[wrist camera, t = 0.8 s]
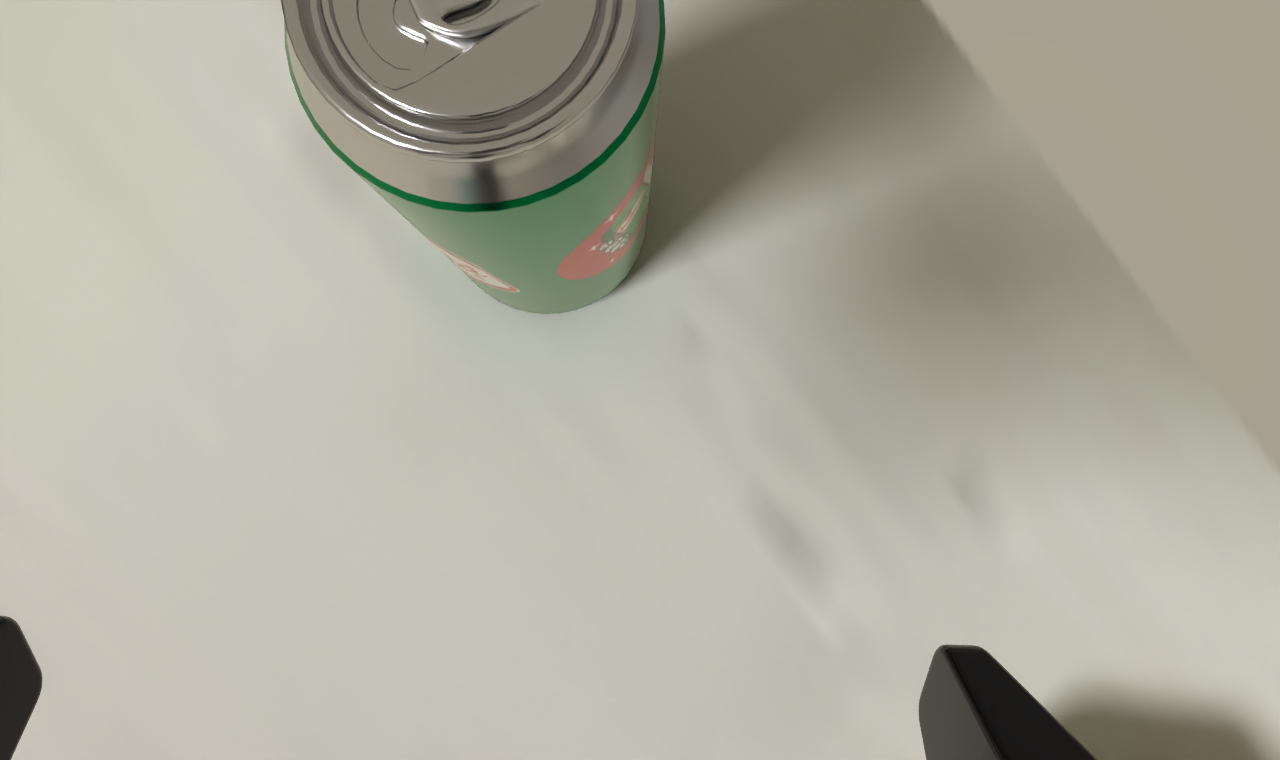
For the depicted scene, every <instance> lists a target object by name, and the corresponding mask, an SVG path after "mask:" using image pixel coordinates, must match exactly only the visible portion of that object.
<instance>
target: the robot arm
mask: <svg viewBox="0 0 1280 760" xmlns="http://www.w3.org/2000/svg"><path fill="white" fill-rule="evenodd" d="M41 688H42V672H41V669H40V667H39V665H38V663H37V661H36V659H35V657H34V655H33V653H32V651H31V649H30V647H29V645H28V643H27V640H26V638H25V636H24V634H23V632H22V630H21V628H20V626H19V625H18V623H17V622H16V621H15V620H13V619H12V618H10V617H7V616H0V760H11V758H12V756H13V753H14V751H15V749H16V747H17V745H18V743H19V740H20V738H21V736H22V734H23V732H24V729H25V727H26V725H27V723H28V721H29V718H30V716H31V714H32V712H33V710H34V707H35V705H36V703H37V701H38V698H39V695H40V692H41ZM919 721H920V727H921V732H922V738H923V743H924V749H925V754H926V760H1097V759H1096V758H1095V757H1094V756H1093V755H1092V754H1091V753H1090V752H1089V751H1088V750H1087V749H1086V748H1085V747H1084V746H1083V745H1082V744H1081V743H1080V742H1079V741H1078V740H1077V739H1076V738H1075V737H1074V736H1073V735H1072V734H1071V733H1070V732H1069V731H1068V730H1067V729H1066V728H1065V727H1064V726H1062V725H1061V724H1060V723H1059V722H1058V721H1057V720H1056V719H1055V718H1054V717H1053V716H1052V715H1051V714H1050V713H1049V712H1048V711H1047V710H1046V709H1045V708H1044V707H1043V706H1042V705H1041V704H1040V703H1039V702H1038V701H1037V700H1036V699H1035V698H1034V697H1033V696H1032V695H1031V694H1030V693H1029V692H1028V691H1027V690H1026V689H1025V688H1024V687H1023V686H1022V685H1021V684H1020V683H1019V682H1018V681H1017V680H1016V679H1015V678H1014V677H1013V676H1012V675H1011V674H1010V673H1009V672H1008V671H1007V670H1006V669H1005V668H1004V667H1003V666H1002V665H1001V664H1000V663H999V662H998V661H997V660H996V659H995V658H994V657H993V656H992V655H990V654H989V653H988V652H987V651H986V650H984V649H983V648H981V647H978V646H973V645H942V646H940V647H939V648H938V649H937V650H936V651H935V654H934V656H933V659H932V662H931V665H930V668H929V671H928V674H927V677H926V680H925V684H924V687H923V690H922V693H921V696H920V701H919Z"/></svg>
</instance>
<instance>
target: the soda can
mask: <svg viewBox="0 0 1280 760" xmlns="http://www.w3.org/2000/svg"><path fill="white" fill-rule="evenodd" d="M281 3H282V9H283V14H284V22H285V48H286V54H287V59H288V64H289V70H290V75H291V78H292V80H293V83H294V86H295V89H296V92H297V94H298V97H299V100H300V103H301V104H302V106H303V108H304V110H305V112H306V113H307V115H308V117H309V119H310V121H311V122H312V124H313V126H314V128H315V129H316V130H317V132H318V133H319V134H320V136H321V137H322V138H323V139H324V141H325V142H326V143H327V144H328V146H329V147H330V148H331V149H332V151H333V152H334V153H335V154H336V155H337V156H338V157H339V158H340V159H342V160H343V161H344V162H345V163H346V164H347V165H348V166H349V167H350V168H351V169H352V170H353V171H355V172H356V173H357V174H358V175H359V176H360V177H361V178H362V179H363V180H364V181H365V182H366V183H368V184H369V185H370V186H371V187H372V188H373V189H374V190H375V191H376V192H377V193H378V194H379V195H380V196H382V197H383V198H384V199H385V200H386V201H387V202H388V203H389V204H390V205H391V206H392V207H393V208H395V209H396V210H397V211H398V212H399V213H400V214H401V215H402V216H403V217H404V218H405V219H406V220H408V221H409V222H410V223H411V224H412V225H413V226H414V227H415V228H416V229H417V230H418V231H419V232H421V233H422V234H423V235H424V236H425V237H426V238H427V239H428V240H429V241H430V242H431V243H432V244H433V245H435V246H436V247H437V248H438V249H439V250H440V251H441V252H442V253H443V254H444V255H445V256H446V257H448V258H449V259H450V260H451V261H452V262H453V263H454V264H455V265H456V266H457V267H458V268H459V269H461V270H462V271H463V272H464V273H465V274H466V275H467V276H468V277H469V278H470V279H471V280H472V281H474V282H475V283H476V284H477V285H478V286H479V287H480V288H481V289H482V290H483V291H484V292H486V293H487V294H488V295H490V296H491V297H493V298H494V299H496V300H497V301H499V302H501V303H503V304H506V305H508V306H510V307H512V308H515V309H519V310H522V311H526V312H532V313H540V314H553V313H563V312H568V311H573V310H577V309H579V308H582V307H585V306H587V305H590V304H592V303H594V302H595V301H597V300H599V299H601V298H602V297H604V296H605V295H607V294H608V293H609V292H610V291H612V290H613V289H614V288H615V287H616V286H617V285H618V284H619V283H620V282H621V281H622V280H623V279H624V278H625V277H626V275H627V274H628V272H629V271H630V269H631V268H632V266H633V265H634V263H635V261H636V259H637V257H638V255H639V253H640V250H641V248H642V244H643V241H644V237H645V232H646V223H647V214H648V204H649V194H650V184H651V173H652V163H653V153H654V143H655V133H656V123H657V113H658V102H659V92H660V82H661V72H662V62H663V52H664V42H665V15H664V1H663V0H281Z"/></svg>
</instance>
